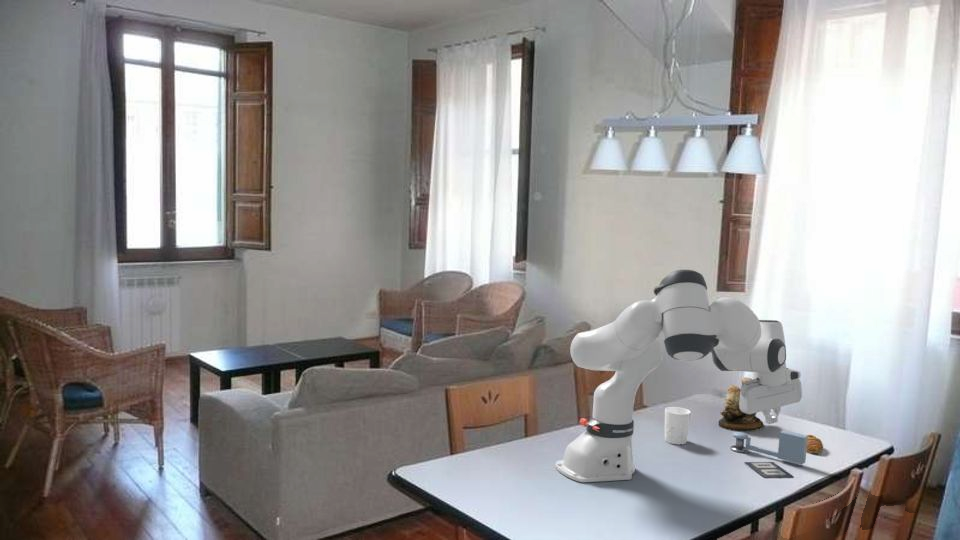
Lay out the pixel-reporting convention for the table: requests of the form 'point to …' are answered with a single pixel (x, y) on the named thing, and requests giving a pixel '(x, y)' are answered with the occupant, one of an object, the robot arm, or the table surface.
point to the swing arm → (782, 446)
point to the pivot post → (739, 446)
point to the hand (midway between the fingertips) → (771, 422)
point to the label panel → (768, 469)
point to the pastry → (814, 445)
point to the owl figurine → (737, 413)
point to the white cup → (676, 425)
